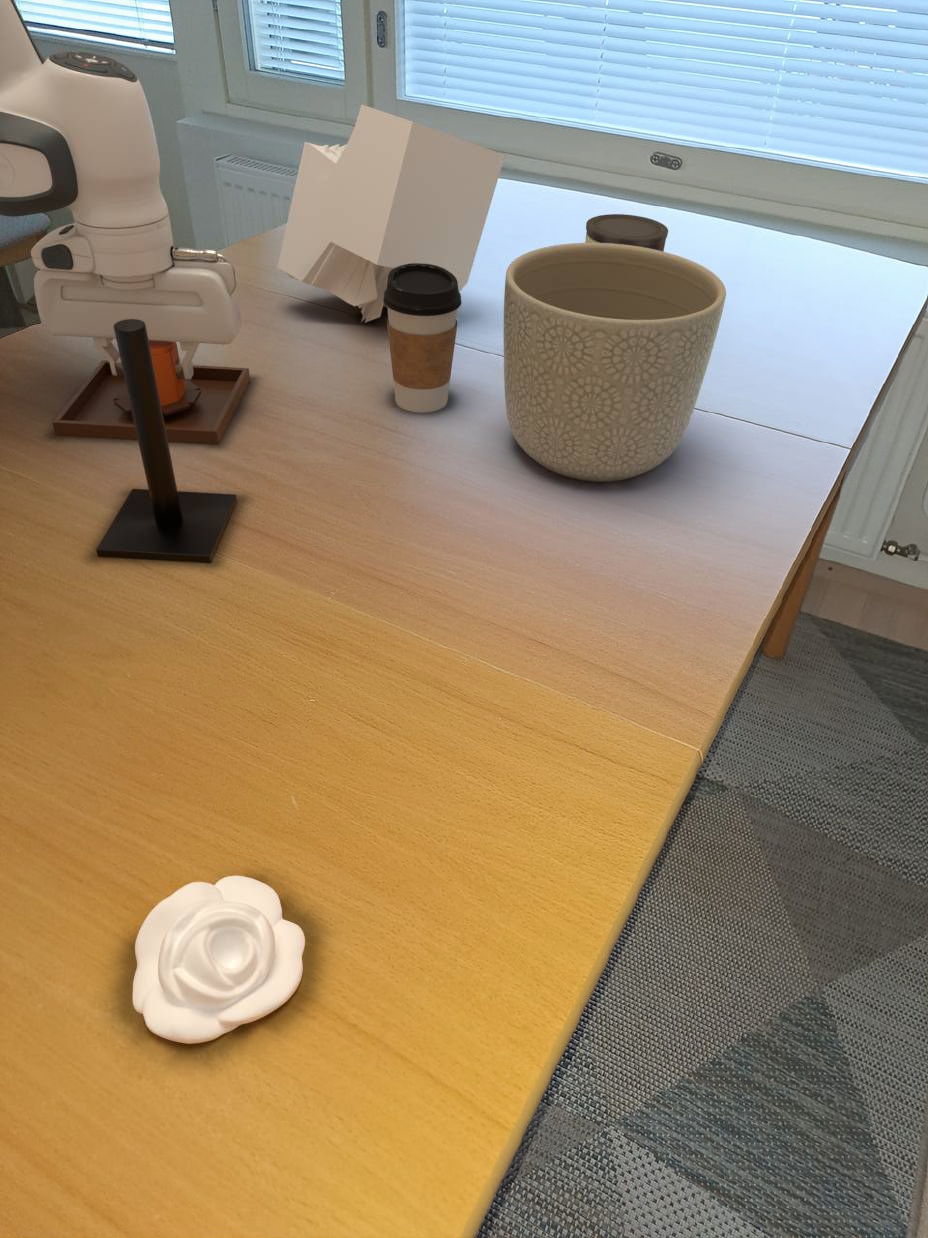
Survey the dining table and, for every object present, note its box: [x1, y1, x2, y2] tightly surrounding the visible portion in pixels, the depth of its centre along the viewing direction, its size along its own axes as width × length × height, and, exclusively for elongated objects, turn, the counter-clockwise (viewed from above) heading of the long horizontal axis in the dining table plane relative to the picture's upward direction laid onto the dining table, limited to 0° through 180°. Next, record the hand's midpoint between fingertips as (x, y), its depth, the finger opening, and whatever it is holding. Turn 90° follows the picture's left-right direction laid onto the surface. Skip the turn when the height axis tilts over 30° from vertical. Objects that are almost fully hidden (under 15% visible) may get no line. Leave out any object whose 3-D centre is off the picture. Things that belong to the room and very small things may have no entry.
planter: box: [503, 242, 727, 483], centre depth 93 cm, size 21×21×19 cm
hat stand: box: [95, 319, 238, 564], centre depth 78 cm, size 10×10×20 cm
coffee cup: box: [383, 263, 463, 414], centre depth 101 cm, size 8×8×15 cm
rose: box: [132, 875, 306, 1045], centre depth 51 cm, size 10×4×10 cm
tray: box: [51, 359, 251, 446], centre depth 101 cm, size 17×15×2 cm
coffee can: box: [584, 213, 669, 252], centre depth 119 cm, size 10×10×14 cm
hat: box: [114, 340, 201, 416], centre depth 99 cm, size 9×9×7 cm
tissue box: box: [276, 104, 506, 323], centre depth 119 cm, size 20×16×25 cm
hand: (153, 375), depth 99 cm, fingers closed on hat, 5 cm apart
